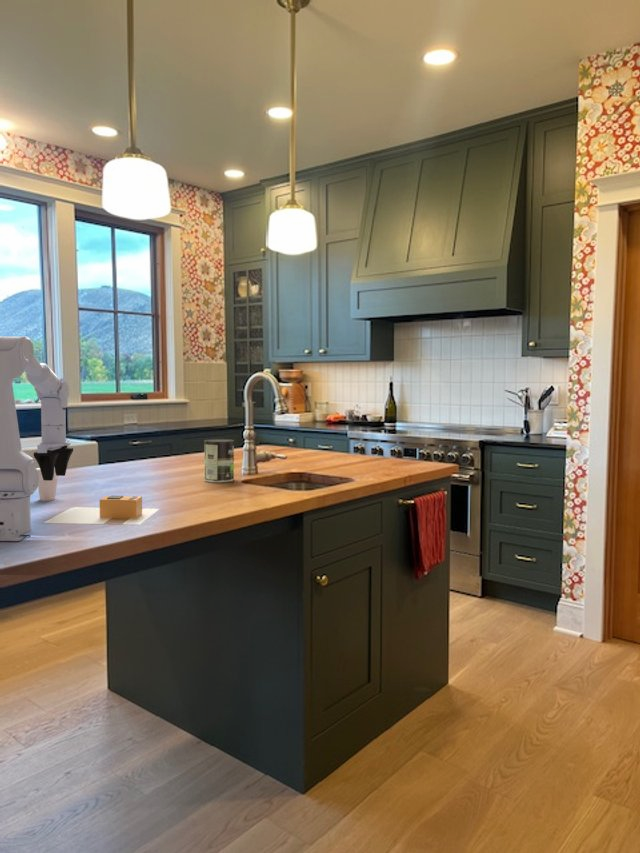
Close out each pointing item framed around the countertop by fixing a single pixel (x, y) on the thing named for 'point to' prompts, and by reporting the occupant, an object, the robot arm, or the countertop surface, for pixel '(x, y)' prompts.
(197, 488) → the countertop surface
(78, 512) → the drywall panel
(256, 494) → the countertop surface
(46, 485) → the smoothie
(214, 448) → the coffee can
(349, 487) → the countertop surface
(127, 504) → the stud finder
